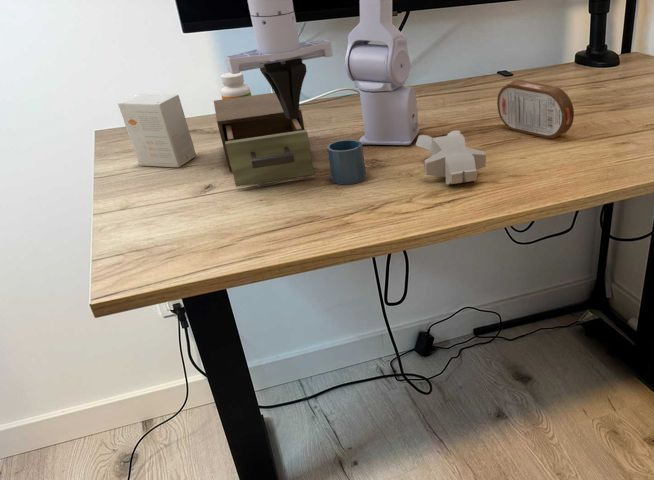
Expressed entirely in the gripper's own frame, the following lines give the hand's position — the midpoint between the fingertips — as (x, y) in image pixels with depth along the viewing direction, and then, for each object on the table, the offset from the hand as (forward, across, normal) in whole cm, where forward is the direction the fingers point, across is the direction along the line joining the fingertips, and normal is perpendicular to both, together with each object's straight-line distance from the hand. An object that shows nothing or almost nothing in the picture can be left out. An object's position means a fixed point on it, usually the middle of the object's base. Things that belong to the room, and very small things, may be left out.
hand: (292, 117), depth 94 cm
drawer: (+9, +3, -6) cm, 12 cm away
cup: (+10, -7, +2) cm, 12 cm away
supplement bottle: (+11, -2, -36) cm, 38 cm away
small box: (+10, +15, -26) cm, 31 cm away
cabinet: (+10, 0, -18) cm, 21 cm away
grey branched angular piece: (+11, -21, +10) cm, 25 cm away
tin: (+11, -42, +3) cm, 43 cm away
